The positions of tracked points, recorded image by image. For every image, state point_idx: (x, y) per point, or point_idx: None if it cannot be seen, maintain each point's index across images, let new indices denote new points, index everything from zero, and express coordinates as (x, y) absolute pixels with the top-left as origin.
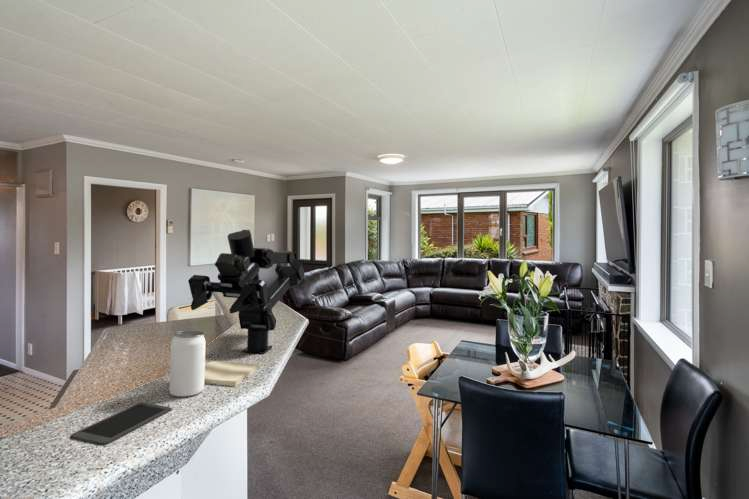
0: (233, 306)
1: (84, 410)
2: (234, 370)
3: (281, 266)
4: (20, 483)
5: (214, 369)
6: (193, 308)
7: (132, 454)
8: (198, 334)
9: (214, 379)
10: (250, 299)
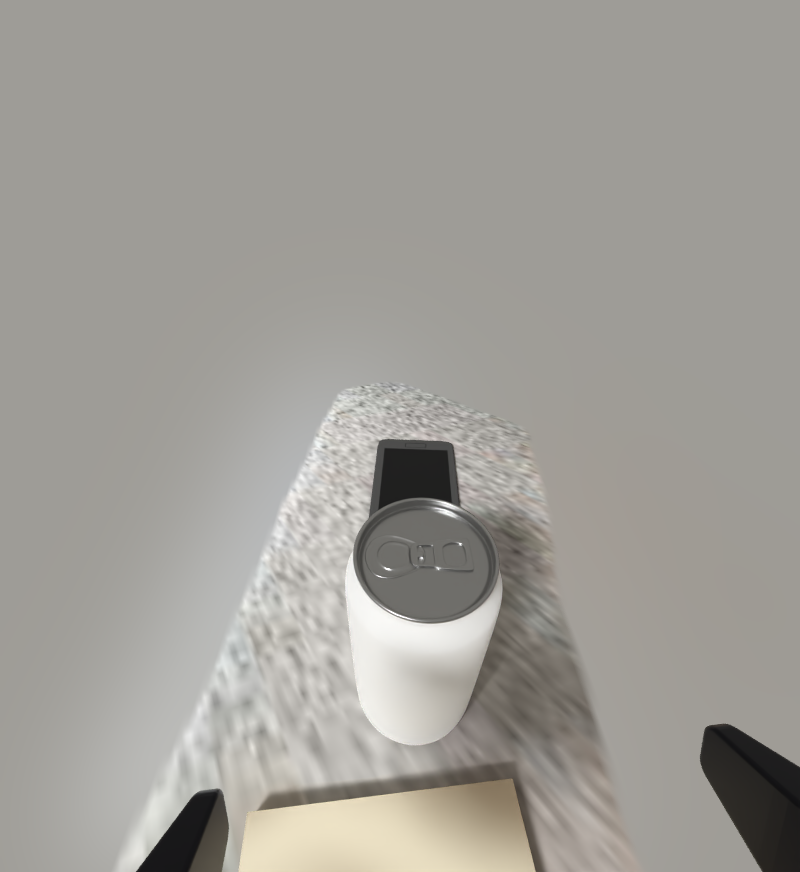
0: (156, 852)
1: (539, 507)
2: None
3: None
4: (398, 387)
5: None
6: (714, 770)
7: (323, 435)
8: (391, 585)
9: (360, 802)
10: None
